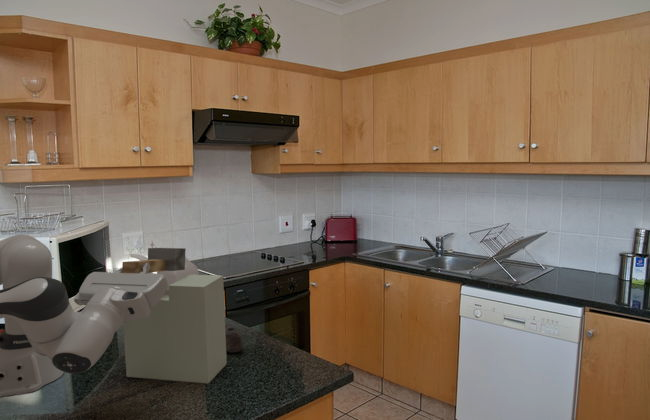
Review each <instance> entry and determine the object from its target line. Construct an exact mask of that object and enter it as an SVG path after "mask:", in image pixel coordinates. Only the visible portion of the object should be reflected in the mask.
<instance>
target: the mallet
mask: <svg viewBox="0 0 650 420" xmlns="http://www.w3.org/2000/svg"><path fill="white" fill-rule="evenodd" d="M185 257H186V248H183V247H182V248H179V247H157V248H155V247H153V248H152V247H148V248H147V258H148V260H141V261H140V260H130V261H122V267H121V268H122V273H139V274H140V272H142V269H141V268H140V267H141V265H142V264H143V263H149V264H150V270H149V271H148V273H152V272H153V273H157V272H160V271H178V270H185Z"/></svg>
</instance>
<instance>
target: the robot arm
mask: <svg viewBox="0 0 650 420" xmlns="http://www.w3.org/2000/svg"><path fill="white" fill-rule="evenodd" d="M140 268H141V269H142V272H140V274H139V273H122V267H120V268H118V269H117V270H115V272H108V271H107V272H106V271H92V272H91V273H89V274H87V276H86V277H85V278H84V280H83V282H82V284H81V285H80V287H79V290H78V293H76V295H75V296H74V298H73V301H74V303H75V304H76V305H79V306H84V307H83V309H82V310H81V311H75V310H74V309H73V306H72V304H71V303H70V298H69V295H68V292H67V289H66V286H65V284H64V282H62V281H60V280H58V279H56V278H53V257H52V253H51V251H50V249H49V247H47V246H46V245H45V244H44V243H43V242H41V241H40V240H38V239H37V238H35V237H34V236H32V235H29V234H15V235H11V236H9V237H6V238H4V239H2V240H0V286H2V289H0V319H4V328H5V329H4V328H3V329H2V328H1V329H0V397H7V396H13V395H20V394H27V393H33V392H36V391H38V390H40V389H41V388H42V387H44V386H45V385H48V384H50V383H52V382H54V381H56V380H57V379H60V378H61V377H62V376H63V375H64V373H66V374H75V375H77V374H82V373H85V372H86V371H89V370H90V369H91V368H92V367H93V366H94V365H95V364H96V363H97V362H98V361H99V360H100V358H101V357H102V356H103V355H104V354H105V352H106V350H107V349H108V347H109V346H110V345H111V343H112V341H113V339H114V335H115V333H116V332H117V331H118V330H119V329H120V328H121V327H123V324H124V323H127V322H130V321H134V320H138V319H143V318H147V317H149V316H150V314H151V309H150V308H152V307H154V306H156V305H157V304H158V303H159V301H160V300H161V298H162V297H163V295H164V294H165V292H166V290H167V288H168V283H167V280H166V278H165V276H164V275H163V274H157V273H155V274H148V271H149V270H150V264H149V263H143V264H142V265H141V267H140Z"/></svg>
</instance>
